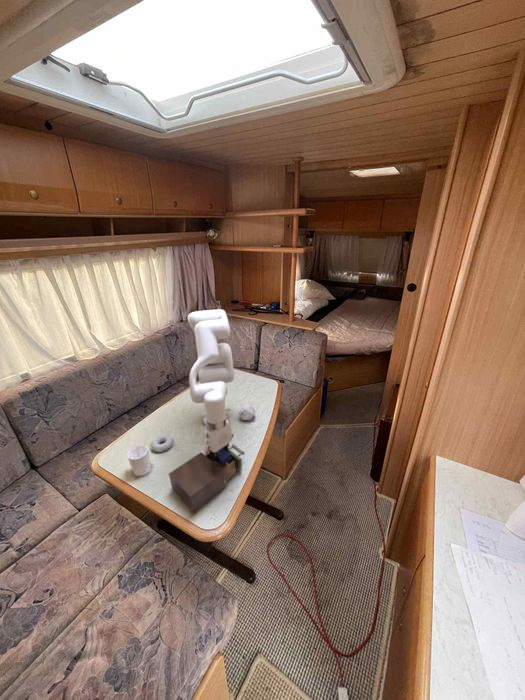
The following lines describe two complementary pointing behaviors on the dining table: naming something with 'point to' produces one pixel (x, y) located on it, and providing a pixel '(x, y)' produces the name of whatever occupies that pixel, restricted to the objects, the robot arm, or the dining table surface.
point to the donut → (164, 446)
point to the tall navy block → (223, 456)
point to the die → (246, 412)
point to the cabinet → (197, 481)
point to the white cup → (139, 460)
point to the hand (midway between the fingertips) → (220, 456)
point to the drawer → (230, 463)
